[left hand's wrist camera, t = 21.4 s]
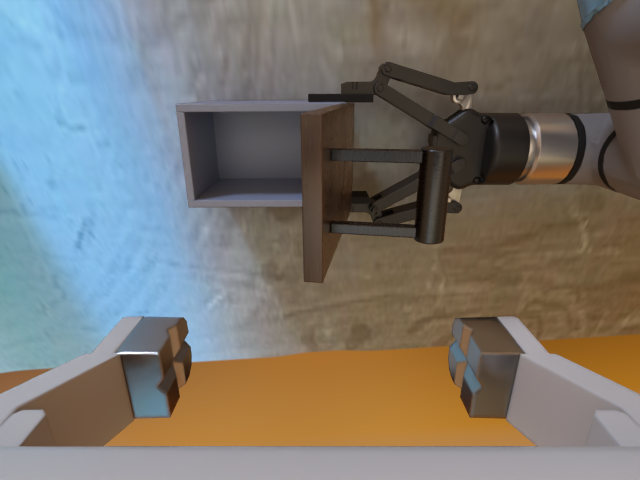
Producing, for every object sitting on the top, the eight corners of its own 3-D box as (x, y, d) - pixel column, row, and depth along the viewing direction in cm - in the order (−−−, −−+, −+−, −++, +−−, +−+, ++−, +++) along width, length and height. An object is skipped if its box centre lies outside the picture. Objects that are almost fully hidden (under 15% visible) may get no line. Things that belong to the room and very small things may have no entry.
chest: (215, 183, 50) (188, 207, 40) (207, 100, 47) (175, 103, 36) (339, 182, 50) (345, 206, 40) (340, 100, 47) (347, 103, 36)
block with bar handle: (303, 282, 24) (445, 293, 23) (299, 113, 21) (467, 114, 19) (339, 208, 39) (426, 212, 38) (341, 103, 36) (436, 103, 34)
